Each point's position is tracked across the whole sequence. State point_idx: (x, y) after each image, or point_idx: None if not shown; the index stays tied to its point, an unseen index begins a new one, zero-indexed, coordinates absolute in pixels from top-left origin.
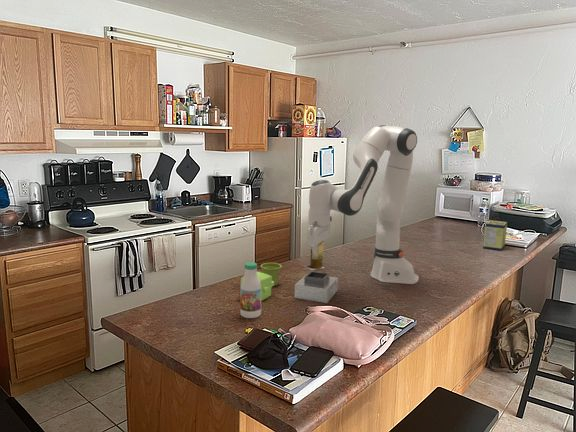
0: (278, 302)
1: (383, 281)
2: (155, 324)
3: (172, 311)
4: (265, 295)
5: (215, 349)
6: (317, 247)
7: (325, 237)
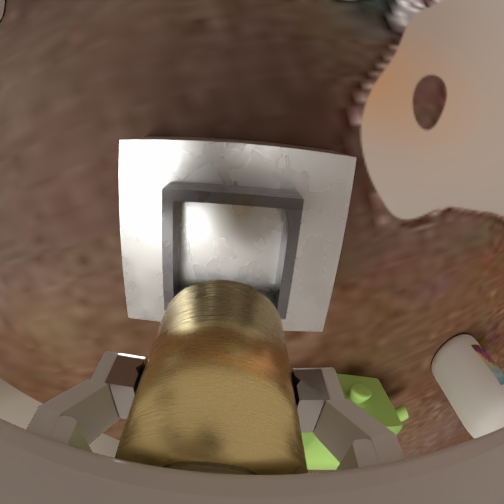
0: (364, 330)
1: (2, 9)
2: (465, 438)
3: (420, 454)
4: (341, 381)
5: None
6: (300, 429)
7: (17, 453)
